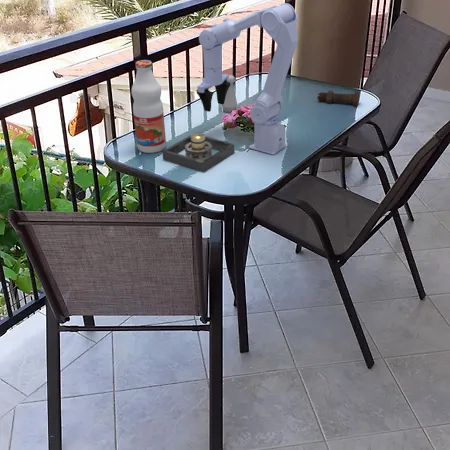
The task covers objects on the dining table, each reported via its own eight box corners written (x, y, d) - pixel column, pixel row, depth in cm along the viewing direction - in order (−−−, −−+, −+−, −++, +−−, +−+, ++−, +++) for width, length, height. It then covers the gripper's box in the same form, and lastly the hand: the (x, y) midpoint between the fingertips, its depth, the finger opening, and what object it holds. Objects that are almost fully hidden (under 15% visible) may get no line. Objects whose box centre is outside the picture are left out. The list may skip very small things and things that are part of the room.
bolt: (318, 105, 226) (357, 107, 221) (316, 102, 221) (356, 105, 216) (320, 89, 225) (360, 92, 220) (317, 87, 220) (358, 89, 216)
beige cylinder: (208, 155, 186) (208, 134, 182) (200, 160, 183) (199, 140, 179) (197, 151, 188) (196, 131, 185) (188, 157, 185) (187, 136, 181)
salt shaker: (235, 113, 215) (235, 78, 208) (220, 112, 216) (219, 78, 209) (238, 107, 220) (238, 73, 213) (223, 107, 221) (222, 73, 214)
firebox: (234, 152, 187) (234, 142, 185) (204, 172, 176) (203, 162, 174) (194, 141, 195) (193, 132, 193) (163, 159, 184) (162, 149, 182)
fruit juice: (171, 143, 194) (164, 59, 179) (158, 155, 187) (150, 68, 172) (145, 139, 197) (137, 56, 182) (132, 151, 190) (121, 65, 175)
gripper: (216, 58, 195) (217, 98, 202) (189, 70, 185) (191, 111, 192) (233, 62, 191) (234, 102, 199) (207, 74, 181) (208, 116, 189)
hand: (214, 107), depth 195 cm, fingers open, 7 cm apart
